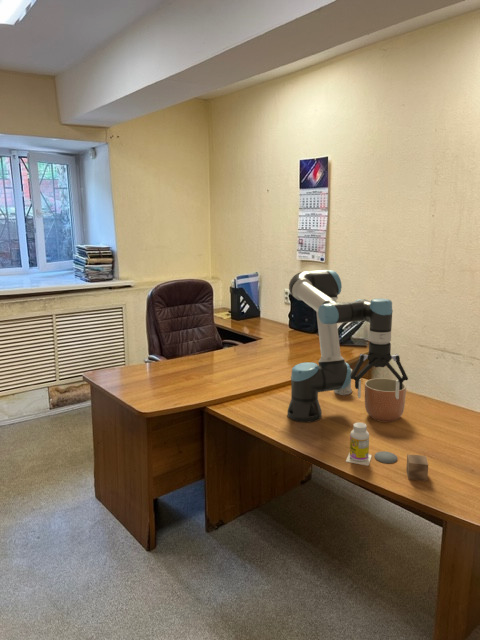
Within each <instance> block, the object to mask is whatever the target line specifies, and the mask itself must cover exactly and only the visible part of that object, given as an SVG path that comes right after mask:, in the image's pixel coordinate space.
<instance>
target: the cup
mask: <svg viewBox="0 0 480 640" xmlns="http://www.w3.org/2000/svg"><path fill="white" fill-rule="evenodd" d="M352 371H353V369H352V368H351V373H352ZM333 392H334V394H336V395H341V396H347V395H351V393H352V381H351V382H350V384H349V386H348V387H347V388H345V389H340V390H333Z"/></svg>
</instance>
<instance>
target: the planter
mask: <svg viewBox="0 0 480 640" xmlns="http://www.w3.org/2000/svg"><path fill="white" fill-rule="evenodd" d="M396 380H397V379H392V378H385V377H378V378H371V379H367V380H366V381H365V383H364V407H365V410H366V413H367V415H368V416H370V418H371V419H374V420H375V421H377V422H383V423H391V422H394V421H395V422H396V421H397V420H398V419H401V417H402V415H403V413H404V410H405V403H406V393H407V385H406V384H405V383H404V382H403V383H402V390H399V399H396V397H395V393H396Z"/></svg>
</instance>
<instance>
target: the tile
mask: <svg viewBox="0 0 480 640" xmlns="http://www.w3.org/2000/svg"><path fill="white" fill-rule="evenodd" d="M372 456H373V455H372V454H370V453H369V455H368V459H367V460H366V461H361V462H360V461H355V460H353V459H351V457H350V451H349V453H348V455H347V457H346V460H345V463H349V464H350V463H351V464H355V465H362V466H368V467H369V466H370V463H371V459H372Z"/></svg>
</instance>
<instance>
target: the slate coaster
mask: <svg viewBox="0 0 480 640" xmlns="http://www.w3.org/2000/svg"><path fill="white" fill-rule="evenodd" d="M374 459H375V460H376V461H378V462H380V463H383V464H395V463H396V462H398V456H397V455H396V454H395V453H393V452H389V451H385V450H384V451H378V452H376V453H375V454H374Z"/></svg>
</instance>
